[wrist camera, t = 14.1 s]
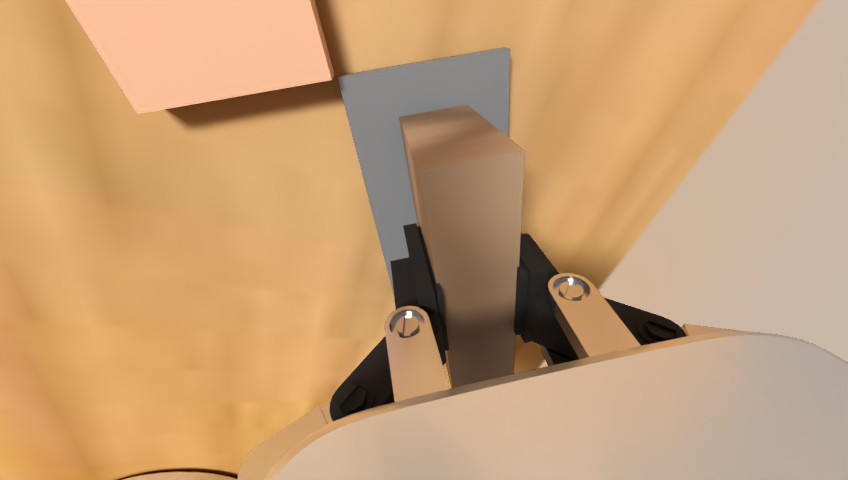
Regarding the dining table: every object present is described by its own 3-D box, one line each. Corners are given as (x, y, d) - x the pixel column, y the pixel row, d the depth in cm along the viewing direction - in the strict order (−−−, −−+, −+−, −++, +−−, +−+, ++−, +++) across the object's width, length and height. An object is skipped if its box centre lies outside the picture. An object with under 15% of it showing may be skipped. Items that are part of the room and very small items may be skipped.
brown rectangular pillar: (467, 104, 11) (524, 150, 7) (477, 298, 17) (513, 384, 13) (398, 117, 11) (418, 170, 7) (432, 308, 17) (454, 398, 13)
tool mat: (500, 298, 19) (503, 305, 19) (401, 319, 19) (402, 327, 18) (503, 47, 11) (510, 48, 11) (338, 75, 11) (337, 78, 11)
